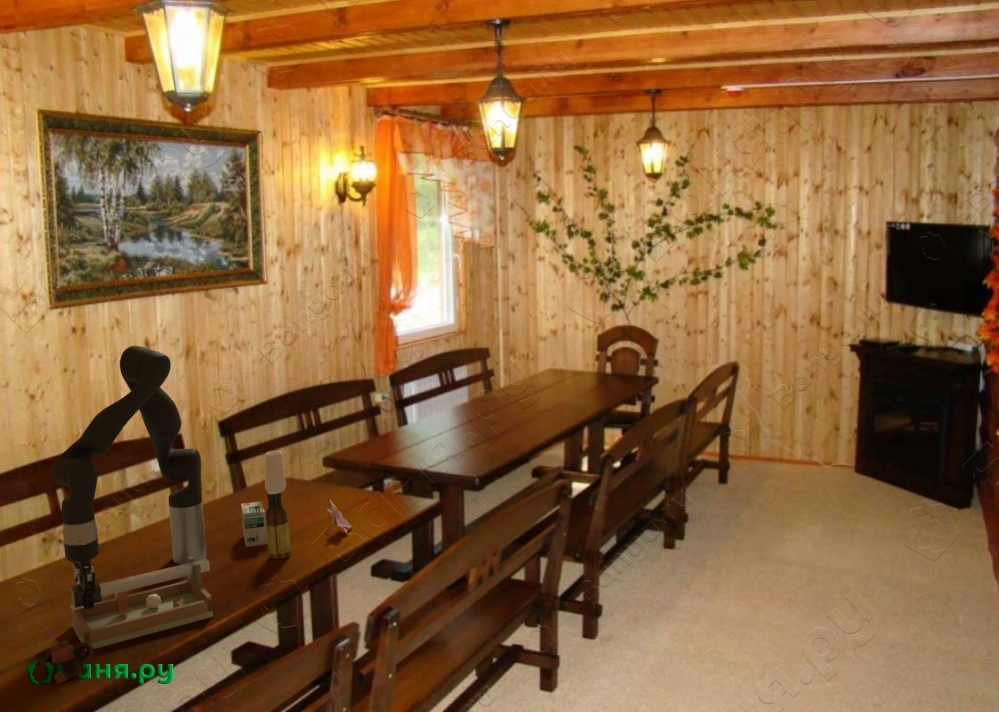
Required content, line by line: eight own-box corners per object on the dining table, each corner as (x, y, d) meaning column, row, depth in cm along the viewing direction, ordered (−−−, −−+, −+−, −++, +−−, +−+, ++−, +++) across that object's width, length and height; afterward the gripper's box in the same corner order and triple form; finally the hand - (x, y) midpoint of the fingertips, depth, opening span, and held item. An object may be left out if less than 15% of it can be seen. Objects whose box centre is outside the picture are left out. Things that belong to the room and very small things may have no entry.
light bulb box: (268, 544, 281) (266, 511, 279) (245, 547, 279) (243, 513, 277) (264, 533, 291) (262, 500, 289) (242, 536, 289) (240, 503, 287)
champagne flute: (266, 529, 294) (262, 456, 290) (267, 521, 301) (263, 450, 297) (288, 527, 296) (284, 455, 292) (288, 520, 302) (284, 449, 298)
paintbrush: (73, 621, 226) (70, 586, 224) (207, 587, 245) (205, 555, 243) (77, 627, 223) (73, 592, 221) (212, 593, 241) (210, 559, 240)
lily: (334, 546, 282) (348, 518, 282) (305, 526, 286) (319, 499, 286) (352, 544, 293) (366, 517, 293) (324, 525, 298) (338, 499, 297)
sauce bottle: (292, 551, 275) (289, 488, 272) (288, 560, 269) (284, 494, 265) (270, 552, 275) (266, 488, 271) (266, 560, 269) (262, 495, 265)
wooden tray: (72, 626, 229) (67, 582, 227) (193, 595, 246) (190, 554, 244) (86, 651, 216) (81, 605, 214) (213, 616, 233) (210, 573, 231)
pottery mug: (43, 692, 199) (29, 656, 200) (46, 691, 207) (32, 657, 208) (100, 664, 204) (85, 630, 205) (100, 664, 213) (86, 631, 214)
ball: (144, 607, 235) (143, 593, 235) (159, 603, 237) (158, 590, 237) (148, 612, 232) (147, 598, 232) (163, 608, 234) (162, 595, 234)
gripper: (58, 533, 226) (64, 598, 229) (69, 550, 214) (76, 619, 217) (90, 526, 230) (96, 591, 233) (104, 543, 219) (110, 611, 222)
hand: (87, 604), depth 225 cm, fingers closed on paintbrush, 4 cm apart
